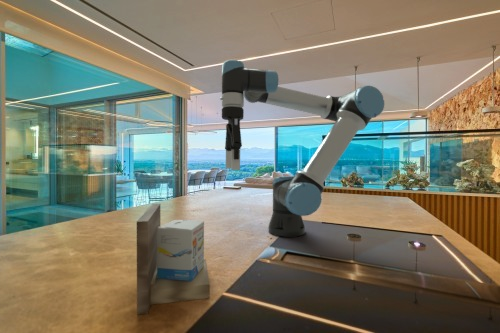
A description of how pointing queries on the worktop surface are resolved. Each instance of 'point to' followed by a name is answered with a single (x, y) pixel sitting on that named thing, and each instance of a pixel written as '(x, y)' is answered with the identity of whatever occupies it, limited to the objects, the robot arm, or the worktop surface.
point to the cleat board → (147, 281)
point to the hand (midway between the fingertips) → (232, 169)
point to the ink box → (180, 250)
